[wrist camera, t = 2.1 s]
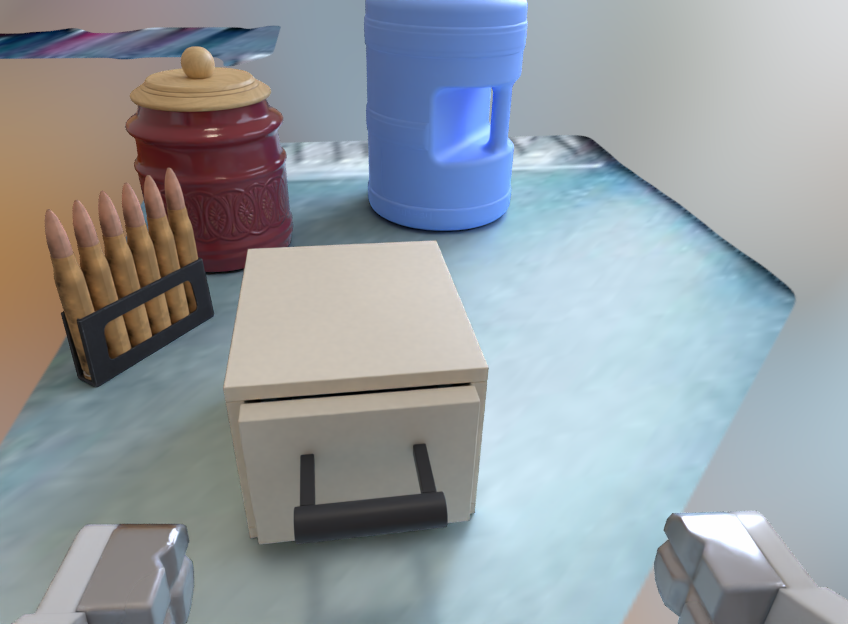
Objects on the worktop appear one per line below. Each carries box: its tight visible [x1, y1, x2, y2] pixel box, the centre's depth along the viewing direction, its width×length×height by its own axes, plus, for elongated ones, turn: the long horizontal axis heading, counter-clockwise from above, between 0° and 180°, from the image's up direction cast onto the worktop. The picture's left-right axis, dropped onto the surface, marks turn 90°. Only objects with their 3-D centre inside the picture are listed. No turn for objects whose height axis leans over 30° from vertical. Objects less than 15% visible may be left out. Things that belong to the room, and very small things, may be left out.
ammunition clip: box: [45, 168, 214, 387], centre depth 43 cm, size 11×2×12 cm, turn 151°
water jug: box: [364, 0, 528, 231], centre depth 63 cm, size 16×16×28 cm
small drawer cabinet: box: [223, 240, 489, 538], centre depth 36 cm, size 14×12×10 cm
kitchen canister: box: [125, 47, 293, 272], centre depth 56 cm, size 13×13×18 cm
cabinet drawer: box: [238, 384, 480, 544], centre depth 32 cm, size 17×10×8 cm, turn 9°
